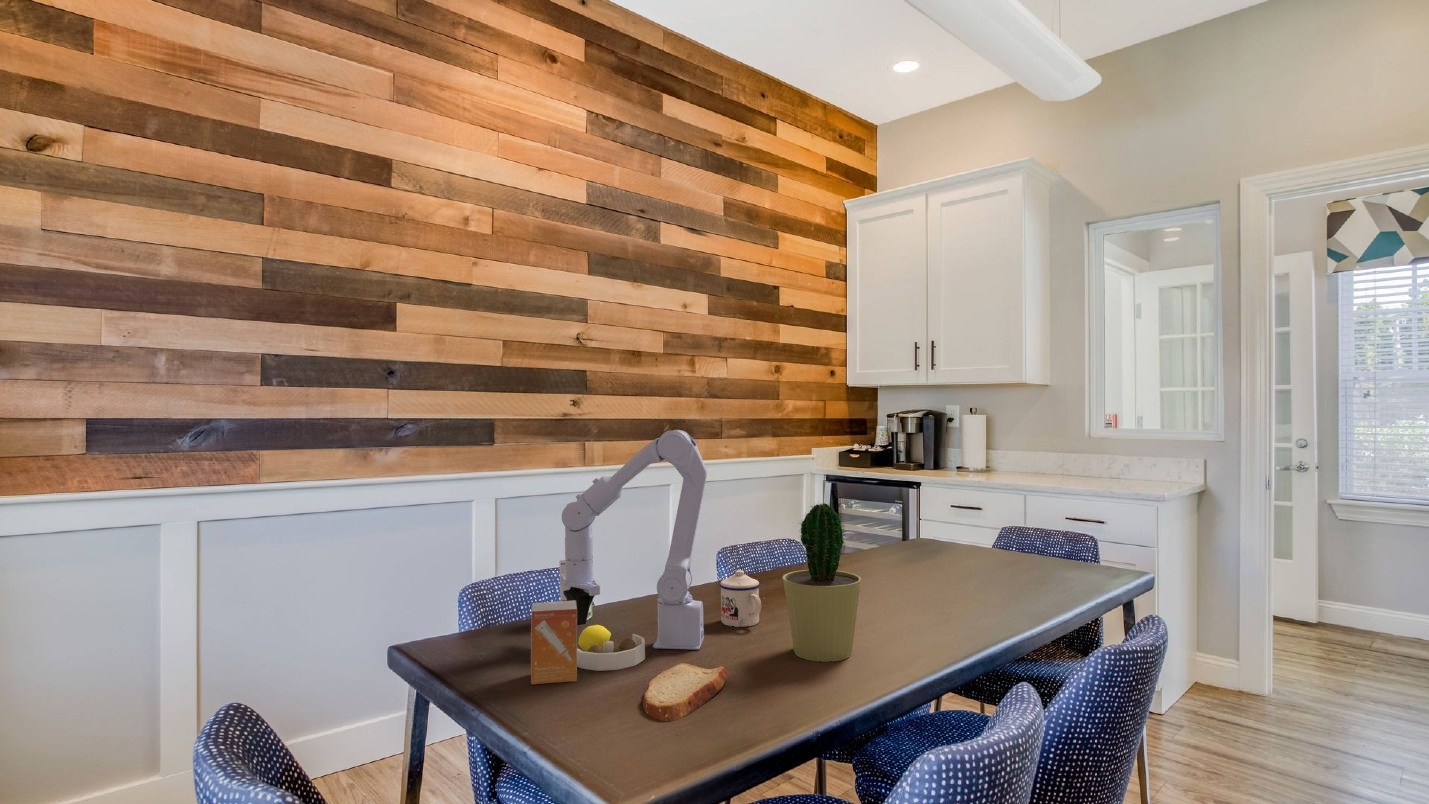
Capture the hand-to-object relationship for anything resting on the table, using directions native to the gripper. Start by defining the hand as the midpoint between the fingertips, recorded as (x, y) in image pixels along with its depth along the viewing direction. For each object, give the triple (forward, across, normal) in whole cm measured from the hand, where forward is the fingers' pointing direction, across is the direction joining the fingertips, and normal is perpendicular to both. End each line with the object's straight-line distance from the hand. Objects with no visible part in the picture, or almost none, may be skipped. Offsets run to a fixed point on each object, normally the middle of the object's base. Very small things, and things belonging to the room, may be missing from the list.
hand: (580, 624), depth 153 cm
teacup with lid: (+4, +10, +36) cm, 37 cm away
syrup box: (+4, -16, +7) cm, 18 cm away
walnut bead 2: (+4, +14, +3) cm, 15 cm away
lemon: (+4, +7, 0) cm, 8 cm away
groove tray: (+4, +12, 0) cm, 13 cm away
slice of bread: (+5, +38, +2) cm, 38 cm away
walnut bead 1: (+4, +14, -4) cm, 15 cm away
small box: (+4, +16, -13) cm, 21 cm away
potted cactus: (+4, +36, +35) cm, 50 cm away
